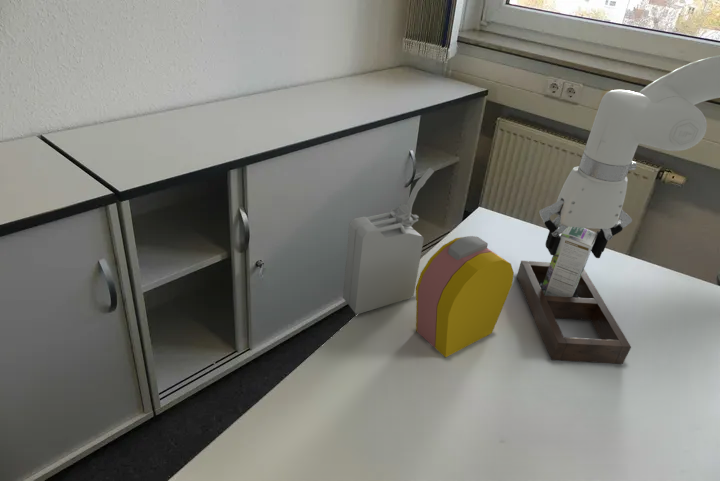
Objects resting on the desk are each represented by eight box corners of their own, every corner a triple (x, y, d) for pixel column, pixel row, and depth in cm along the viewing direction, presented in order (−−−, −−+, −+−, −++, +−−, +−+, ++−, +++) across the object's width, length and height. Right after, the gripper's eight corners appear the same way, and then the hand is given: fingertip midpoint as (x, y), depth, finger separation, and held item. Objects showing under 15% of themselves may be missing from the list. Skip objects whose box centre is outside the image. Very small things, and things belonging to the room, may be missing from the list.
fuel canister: (410, 279, 107) (429, 164, 93) (424, 293, 103) (447, 176, 90) (341, 298, 100) (352, 177, 87) (354, 315, 97) (367, 191, 83)
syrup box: (545, 282, 109) (566, 221, 101) (575, 293, 107) (598, 231, 99) (538, 297, 105) (558, 234, 97) (568, 309, 103) (592, 245, 95)
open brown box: (575, 280, 112) (581, 264, 110) (622, 364, 92) (631, 347, 90) (516, 276, 111) (521, 260, 109) (551, 360, 91) (558, 342, 89)
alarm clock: (465, 304, 102) (486, 220, 92) (498, 329, 97) (524, 244, 87) (405, 331, 94) (421, 244, 84) (437, 361, 89) (458, 271, 79)
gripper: (643, 160, 94) (609, 244, 104) (546, 153, 93) (521, 238, 103) (664, 180, 88) (626, 267, 98) (560, 172, 87) (532, 261, 97)
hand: (572, 252), depth 100 cm, fingers closed on syrup box, 7 cm apart
